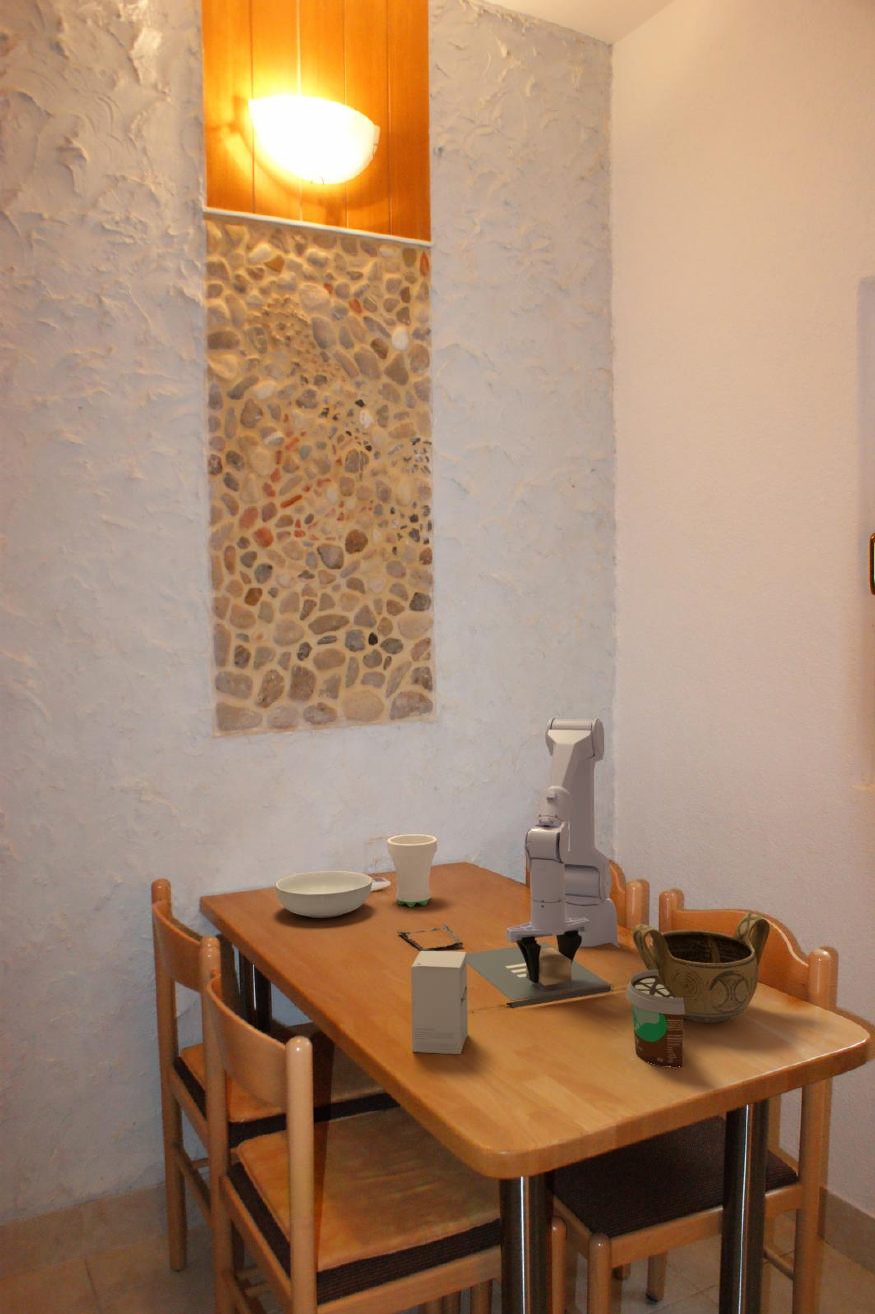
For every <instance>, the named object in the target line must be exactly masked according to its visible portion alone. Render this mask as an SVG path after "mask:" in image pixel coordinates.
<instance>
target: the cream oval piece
mask: <svg viewBox="0 0 875 1314" xmlns="http://www.w3.org/2000/svg"><path fill="white" fill-rule="evenodd" d="M372 885H373V879H372V877H371V876H369V875H367V874H365V873H360V872H356V871H355V872H354V871H345V870H320V871H319V870H318V871H309V872H302V873H297V874H292V875H289V876H285V877H283V878H281V879H279V880H278V881H276V883H275V891H276V897H277V898H278V901H279V903H280V904H281V905H282V906H283V908H284V909H286V910H287V911H289V912H291V913H294V914H296V915H300V916H304V917H308V918H314V919H327V918H334V917H339V916H341V915H344V914H347V913H350V912H353V911H354V910H357V909H359V908H361V906H362V905H364V904H365V902H366V901H367V899H369V897H370V894H371V891H372V887H373V886H372Z"/></svg>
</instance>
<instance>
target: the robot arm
mask: <svg viewBox="0 0 875 1314" xmlns="http://www.w3.org/2000/svg"><path fill="white" fill-rule="evenodd" d="M544 734H545V744H546V747H547V748H548V753H549V755H550V756H551V757H552V758H551V759H552V760H551V767H550V774H549V782H548V788H545V789H543V791H541V793H540V796H539V799H538V805H537V809H536V814H535V817H534V821H533V826H531V828H528V829H527V830H526V832H525V835H524V836H525V837H524V855H525V859H526V869H527V871H528V872H529V877H530V878H529V879H530V880H529V883H530V884H529V886H530V921H528V922H525V923H522V924H520V925H519V924H518V925H515V926H510V927H506V928H505V933H506V940H507V941H508V942H510V943H512V944H513V943H516V944H517V946H519V948H520V950H521V952H522V955H523V957H524V960H525V962H526V965H527V969H528V973H529V978H530V980H531V981H532V982H533V983H538V982H539V956H540V950H541V946H540V945H539V944H537V943H538V941H537V940H536V938H545V937H552V936H553V937H554V936H556V937H555V938H556V943H557V948H558V949H557V950H559V952H560V953H561V954H563V955H564V956H566V957H567V958H569V959H570V960H571V966H572V962H573V960H574V959H575V956H576V954H577V951H578V950H579V948H580V947H581V948H583V947H584V948H591V947H596V946H601V945H605V944H610V943H611V944H612V945H614V946H616V947H617V948H620V947H621V946H620V945H619V944H618V943H619V942H618V913H617V908H616V905H615V902H614V901H613V900H612V899H611V898H610V894H611V892H612V872H611V865H610V860H609V857H607V855H606V854H604V853H602V852H601V851H600V850H599V849H597V848H596V845H595V767H596V763H597V762H599V761H602V760H603V759H604V755H605V728H604V725H603V723H602V721H601V719H600V718H599V717H598V718H596V717H595V718H556V717H550V718H549V720H548V721H547V723H546V727H545V733H544Z"/></svg>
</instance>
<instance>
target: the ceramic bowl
mask: <svg viewBox="0 0 875 1314" xmlns="http://www.w3.org/2000/svg"><path fill="white" fill-rule="evenodd" d="M770 930H771V925H770V924H769V922H768V920H767V919H765V918H763V917H762V916H760V915H758V914H756V913H753V912H748V913H746V914H744V915H743V916H742V917H741V918H740V920H739V922H738V923H737V926H736V927H735V930H734V933H733V935H730V934H727V933H722V932H717V931H710V930H705V929H704V930H702V929H676V930H669V931H664V932H660V931H659V930H657V929H656V928H654V927H651V926H650V925H647V924H645V923H639V924H636V926H635V927H634V928H633V931H632V940H633V943H634V945H635V947H636V949H637V952H638V953H639V955H640V957H641V959H642V962H643V964H644V966H645V967H646V971H649V970H658V977H659V979H660V980H661V981H662V982H663V983H664V984H666V985H667V986H669V987H670V989H671V990H672V992H673V994H674V995H675V997H676V998H683V1001H684V1009H685V1014H683V1019H685V1020H688V1021H692V1022H695V1023H698V1024H700V1023H701V1024H715V1023H720V1022H724V1021H727V1020H730V1019H732V1018H734V1017H736V1016H738V1015H739V1014H741V1013H742V1012H743V1011H744V1010H745V1009H746V1008H747V1007H748V1006H749V1005H750V1003H751V1001H752V999H753V997H754V995H755V993H756V990H757V988H758V982H759V966H760V963H761V959H762V956H763V953H764V950H765V948H766V947H765V946H766V945H767V941H768V938H769V934H770ZM648 934H650V936H651V939H650V941H649V946H648V943H647V942H646V938H647V936H648Z"/></svg>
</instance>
